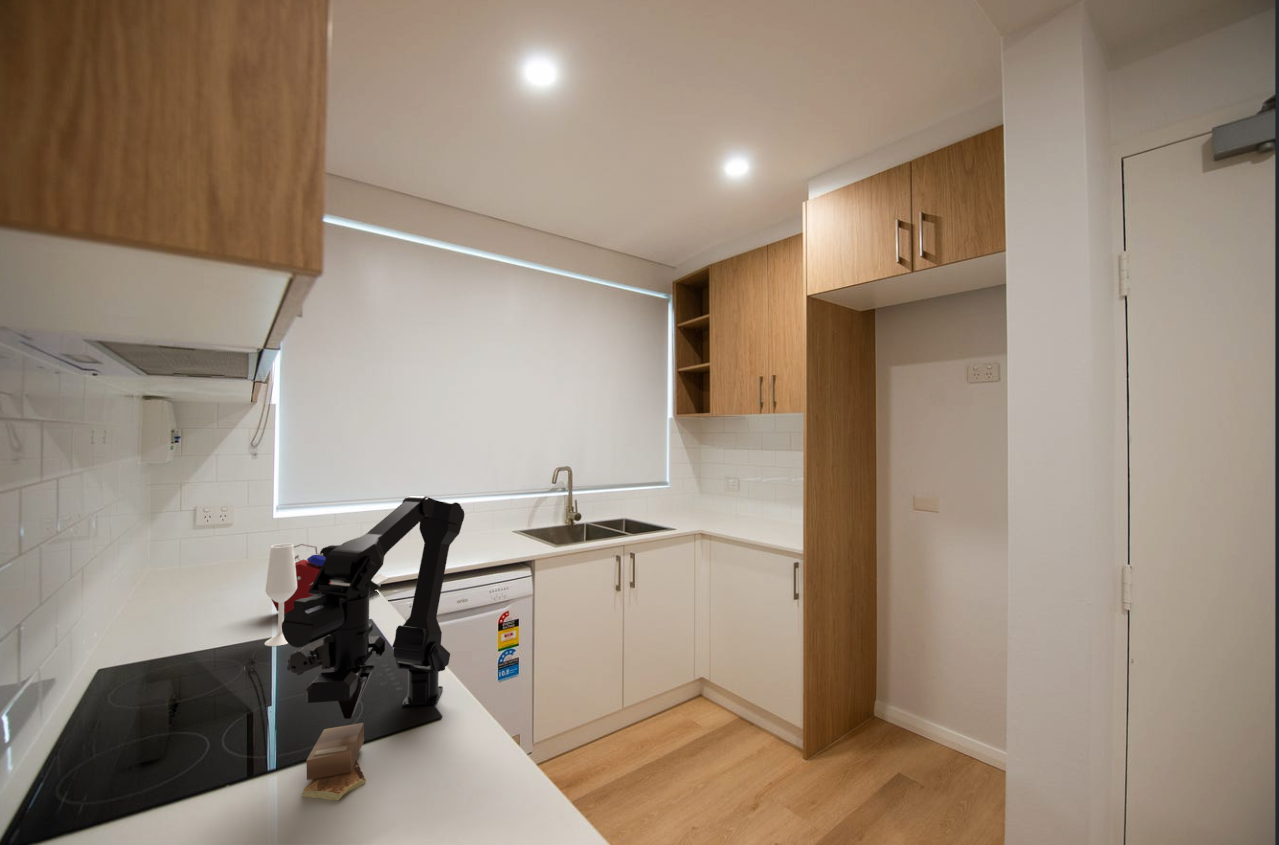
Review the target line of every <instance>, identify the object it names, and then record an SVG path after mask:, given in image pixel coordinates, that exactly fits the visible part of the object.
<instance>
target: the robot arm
mask: <svg viewBox="0 0 1279 845" xmlns="http://www.w3.org/2000/svg"><path fill="white" fill-rule="evenodd" d="M464 520H465V510H464V509H463V508H462V506H461V504H460V503H459V502H455V501H453V502H452V501H441V500H437V499H434V498H431V497H429V496H422V495H420V496H419V495H410V496H406V497H405V498H404V499H403V500H402V502H401V504H399V505H398V506H397V507H396V508H395V509H393V511H391V512H390V513H388V515H387V516H385V517H384V518H383V519H381V520H380V521H379V522H378V523H377V524H376V525H375V526H373V527H372V528H371V529H370V530H369V531H367V533H365V534H363V535H361V536H359V537H356V538H353V539H350V540H347V541H345V542H343V543H341V544H339V545H340V546H338V547H336V548H334V549H333V550H331V551H330V553H329V554H328V555H327V556H326V558H325V562H324V564H323V566H322V568H321V569H320V571H319V573H318V575H317V577H316V579H315V581H314V582H313V584H312V586H311V588H310V590H309V594H312V595H313V596H311V597H308V598H302V599H298V600H296V601H294V607H293V609H292V610H291V611H289V612H288V613H285V614H286V615H284V621H283V622H282V632H283V636H284V638H285V640H286V641H287V642H288V644H289V645H290V646H291V647H294V648H295V649H296V650H293V652H292V653H291V654H289V658H288V659H287V663H288V665H287V666H286V668H287V669H286V670H288V671H289V672H291V673H293V674H295V676H302V675H303V674H304V673H305V672H308V671H310V670H312V669H315V668H318V667H320V666H321V670H330V669H331V668H333V671H329V672H325V671H324V672H321V673H320V674H319V675H317V677H316V678H315V679H313V680H312V682H311V683H310V684H309V685H308V686H307V687H306V688H305V702H306V703H307V704H314V703H326V702H327V703H329V702H338V704H339V707H340V710H341V714H342V716H343V718H344V719H346V720H347V719H348V720H350V719H352V718H353V716H354V714H355V712H356V709H357V707H358V705H359V702H360V700H361V698H362V695H363V693H364V691H365V689H366V686H367V684H368V682H369V680H370V677H371V675H372V673H373V670H375V666H374V665H373V664H372V665H366V663H367V661H368V660H369V658H371V657H372V655H373V652H375V656H376V657H382V655H383V654H384V652H385V651H386V640H385V639H384V638H382V636H380V635H374V636H373V635H371V636H370V633H371V632H372V631H373V628H374V627H373V626H374V624H373V623H370V593H372V592H374V591H377V590H379V588H380V586H379V585H377V584H376V583H374V582H373V581H372V580H371V579H372V578H373V577H374V576H375V574H376V573H377V574H378V572H379V570H381V568H382V567H383V566H384V560H385V556H386V555H387V553H388V552H390V550H391V549H393V547H395V546H396V545H397V544H398V543H399V542H400V541H401V540H402V539H403V538H404V537H405V536H406V535H407V534H409V533H410V532H411V531H412V530H413V529H414V528H415V527H416V526H417V525H418V524H419V528H418V529H419V532H420V534H421V537H422V540H423V542H424V543H423V550H422V554H421V560H420V564H419V569H418V574H417V579H416V585H415V589H414V595H413V599H412V600H413V601H412V605H411V606H412V607H411V611H410V615H409V617H408V619H407V620H406V621H405V622H404V623H403V625H397V627H396V629H395V635H394V636H395V637H394V640H393V644H392V645H391V648H393V651H392V652H393V653H392V655H393V658H394V659H395V662H396V666H397V669H398V670H406V671H407V694H406V696H405V698H404V700H403V701H402V703H401V704H402V705H401V706H402V707H412V706H425V705H426V706H427V705H436V704H437V703H438V702H439V700H440V697H441V694H442V692H443V689H444V688H443V686H441V685H439V675H440V674H439V672H442V671H445V670H446V667H447V666H449V664H450V658H451V653H450V652H449V651H448V650H447V649H446V648H445V647H444V646H443V644H442V633H443V632H442V629H441V626H440V624H439V622H438V619H437V616H438V610H439V605H440V599H441V595H442V594H441V593H442V590H443V582H444V578H445V573H446V572H445V570H446V567H447V562H448V560H447V559H448V555H449V550H450V546H451V544H452V543H453V542H454V541H455V540H456V538H457V537H458V536H459V535H460V534H461V529H462V525H463V522H464ZM330 582H338V583H347V584H350V586H343V585H334V584H329V583H330Z"/></svg>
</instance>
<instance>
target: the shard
mask: <svg viewBox="0 0 1279 845" xmlns="http://www.w3.org/2000/svg"><path fill="white" fill-rule="evenodd" d="M366 782H367V779H366V778H365V775H364V773H363V771H362V770H361V766H360V764H359V762H358V761H357V759H356V761H355V763H354V766H353V768H352V771H351V772H349V773H344V774H338V775H333V776H328V777H322V778H317V779H312V780H311V782H310V783H308V785H307V786H305V787H304V789H303V791H302V793H301V797H304V798H313V799H322V800H324V799H325V800H329V801H330V800H331V801H339V800H341V798H342V797H343V796H344V795H346V794H348V793H349V792H350V791H352V790H354V789H357V788H358V787H360V786H363V785H365V784H366Z"/></svg>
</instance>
